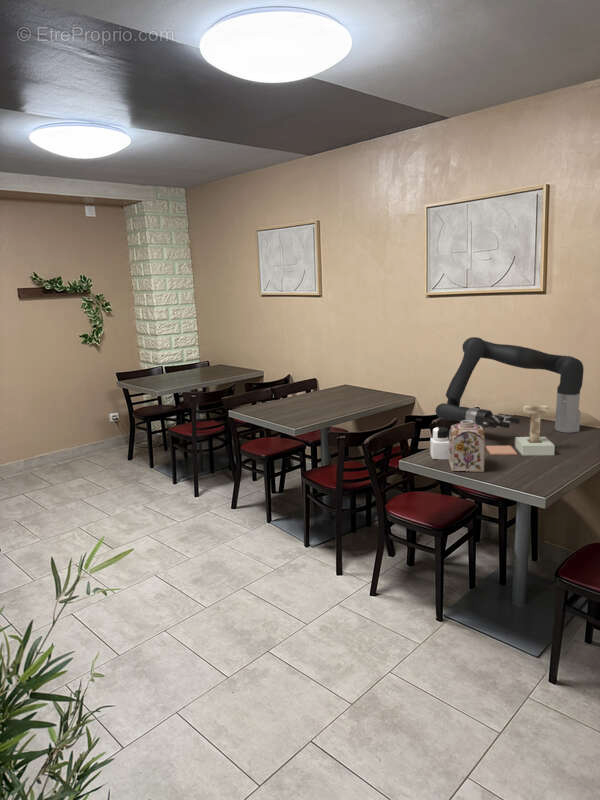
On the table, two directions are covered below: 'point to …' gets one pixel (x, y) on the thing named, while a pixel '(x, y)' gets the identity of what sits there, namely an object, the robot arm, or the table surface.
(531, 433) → the t key
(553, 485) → the table surface
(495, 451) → the mat
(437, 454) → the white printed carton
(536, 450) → the socket block
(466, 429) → the decorative jar
